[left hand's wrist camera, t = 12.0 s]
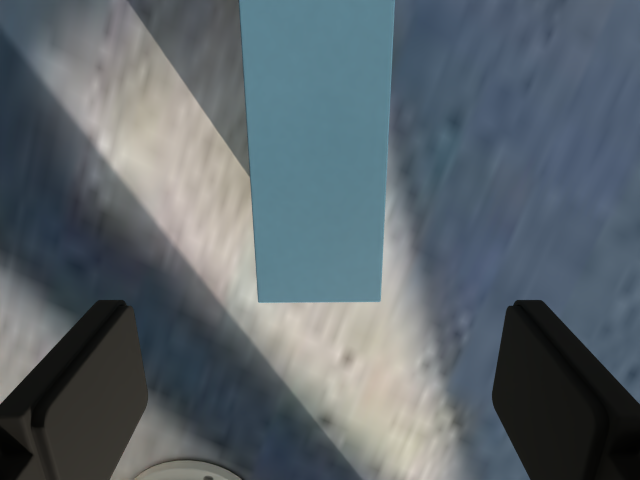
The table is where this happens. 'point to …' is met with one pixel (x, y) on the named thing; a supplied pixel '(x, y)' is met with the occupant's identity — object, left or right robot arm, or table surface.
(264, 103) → the cabinet
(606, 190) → the table surface
